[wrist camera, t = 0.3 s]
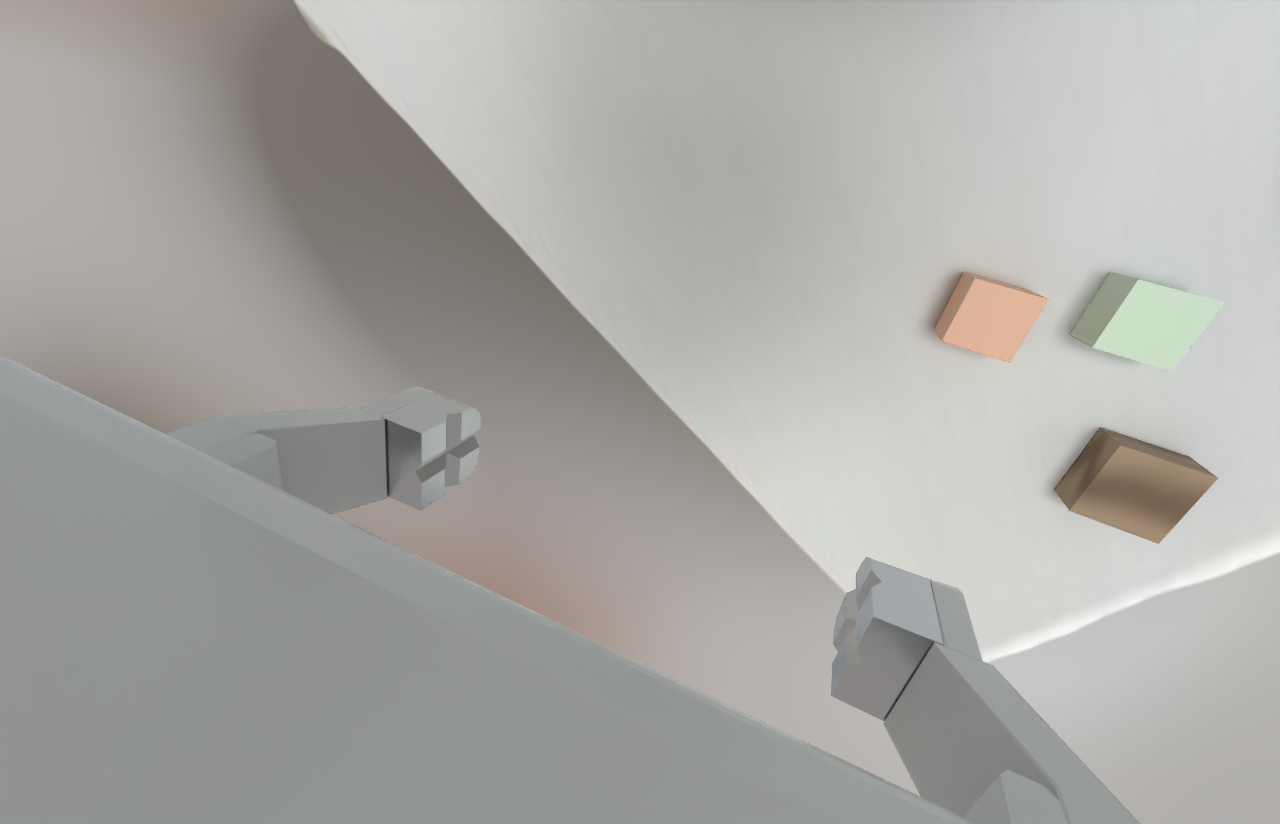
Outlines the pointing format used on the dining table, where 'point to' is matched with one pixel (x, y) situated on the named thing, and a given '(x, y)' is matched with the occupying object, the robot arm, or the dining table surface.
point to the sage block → (1144, 321)
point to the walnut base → (1133, 485)
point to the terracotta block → (989, 316)
